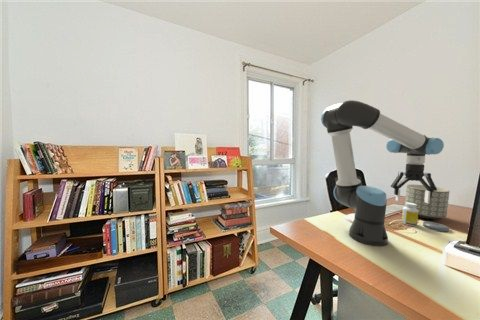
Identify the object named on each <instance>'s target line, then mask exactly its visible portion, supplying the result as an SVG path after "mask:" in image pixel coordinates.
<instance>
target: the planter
mask: <svg viewBox="0 0 480 320" xmlns="http://www.w3.org/2000/svg"><path fill="white" fill-rule="evenodd" d="M436 188H437V190H436V191H434V192H432V197H430V200H429V204H428V203H425V202H424V200H425V190H427V189H426V188H425V187H424V186H423V185H422V184H407V185H406V189H405V190H406V191H405V199H404V200H405V201H404V207H406V205H405V203H406V202H409V203H414V204H417V207H416V209H417V210H418V218H422V219H427V220H433V219H434V220H435V219H436V220H437V219H440V218H446V217H447V215H448V206H449V200H450V190H449V189H447V188H443V187H438V186H436ZM427 191H428V190H427Z"/></svg>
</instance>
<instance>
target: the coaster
mask: <svg viewBox="0 0 480 320" xmlns="http://www.w3.org/2000/svg"><path fill="white" fill-rule="evenodd" d="M422 226H423V227H424V228H426V229H428V230H430V231H435V232H440V233H449V232H450V229H451V228H450V227H449V226H447V225H445V224H442V223H439V222H434V221H423V222H422Z"/></svg>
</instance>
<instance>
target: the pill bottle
mask: <svg viewBox="0 0 480 320" xmlns="http://www.w3.org/2000/svg"><path fill="white" fill-rule="evenodd" d="M405 205H406V207H405ZM416 207H417V204H414V203H409V202H406V203H405V202H404V206H403V207H402V216H401V223H403V224H404V225H407V226H411V227H416V226H417V225H418V219H419V217H418V210H417V209H416Z"/></svg>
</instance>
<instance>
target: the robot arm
mask: <svg viewBox="0 0 480 320" xmlns="http://www.w3.org/2000/svg"><path fill="white" fill-rule="evenodd" d="M380 110H381V109H378V108H376V107H374V106H372V105H370V104H368V103H365V102H361V101H360V100H359V101H358V100H354V99H353V100H345V101H342V102H340V103H335V104H333V105H330V106H328V107H326V108H325V109H324V111H323V112H322V114H321V118H320V121H321V124H322V125H323V127H325V128H326V130H327V131H326V132H327V134H328V135H330V137H331V142H332V148H333V154H334V159H335V167H336V173H337V180H336V182H335V186H334V188H333V197H334V198H335V200H336V201H337V202H338V203H339V204H341V205H342V206H345V207H348V208H350V209H352V210H354V219H353V222H352V224H351V225H350V227H349V231H348V235H349V236H350V238H352V239H353V240H355V241H357V242H359V243H362V244H366V245H369V246H374V247H375V246H377V247H382V246H383V247H384V246H386V245H388V242H389V236H388V234H387V230H386V227H385V221H386V219H385V218H386V211H387V203H388V201H387V193H386V192H385V191H384V190H382V189H380V188H376V187H374V186H373V187H372V186H368V185H362V181H361V180H360V179H359V178H358V177H357V170H356V164H355V157H354V152H353V144H352V143H353V142H352V138H351V137H352V136H351V132H352V130H353V129H354V128H353V127H358V128H361V129H364V130H371V131H373V132H375V133H377V134H379V135H382V136H383V137H385V138H387V139H389V140H388V141H387V142H386V150H387V151H388V152H389V153H394V154H406V162H405V163H406V164H405V171H398V173H397V176H396V177H395V179H394V181H393V182H392V183H391V185H390V188H392V189H394V191H393V194H394V195H395V201H396V202H400V200H401V188H402V187H403V186H404V185H405V184H407V183H408V182H409V181H411V182H412V181H416V182H420V184H421V185H423V186H424V187H425V188H426V189H427V190H428V191H427V190H425V200H424V202H425V203H428V204H429V200H430V197H432V192H434V191H436V190H437V188H436V187H437V186H436V185H435V182H434V181H433V178H432V174H431V172H424V171H425V163H426V156H427V155H429V156H430V155H438V154H440V153H441V152H442V151H443V149H444V146H445V144H444V141H443V140H442V138H440V137H428V136H426V135H425V134H422V133H419V132H418V131H416V130H415V129H411V128H410V127H408V126H406V125H405V124H402V123H400V122H398V121H397V120H394V119H393V118H391V117H389V116H386V115H384V114H382V113H381V111H380ZM404 176H405V177H404ZM403 177H404V178H403ZM423 177H425V179H426V180H425V179H424V178H423ZM402 178H403V179H402Z"/></svg>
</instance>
